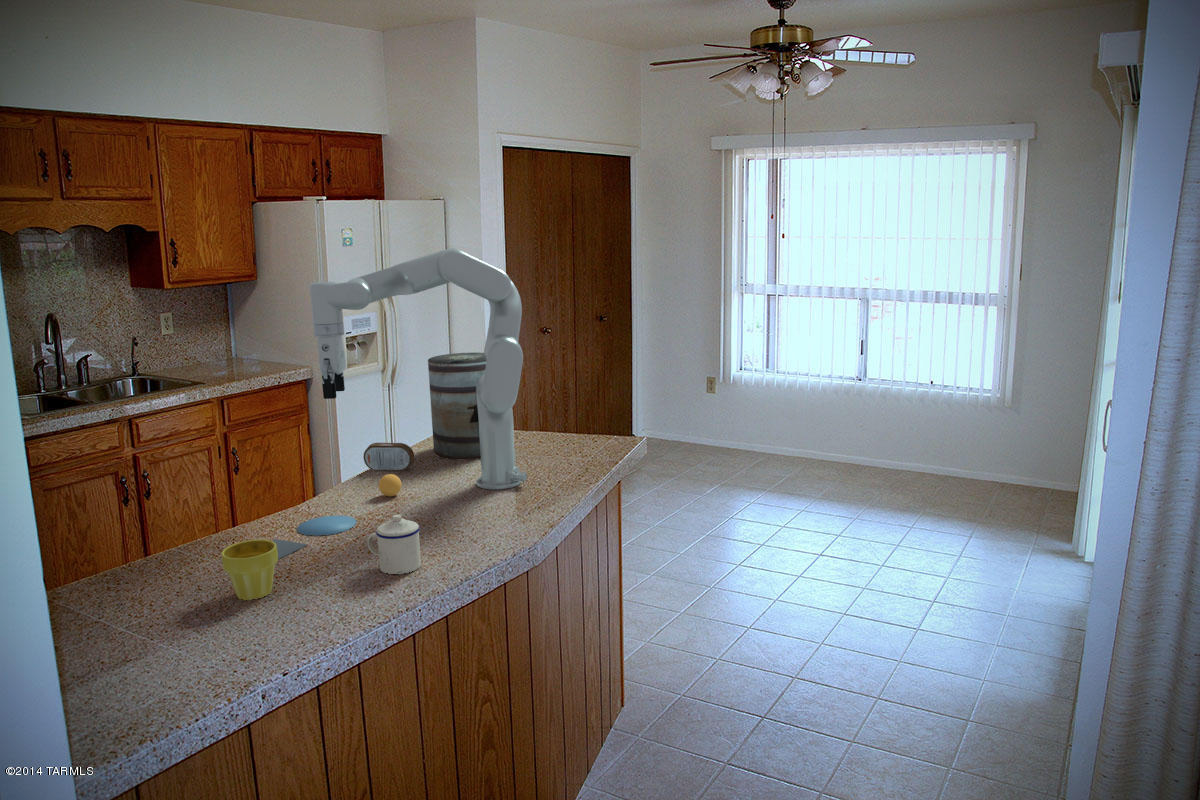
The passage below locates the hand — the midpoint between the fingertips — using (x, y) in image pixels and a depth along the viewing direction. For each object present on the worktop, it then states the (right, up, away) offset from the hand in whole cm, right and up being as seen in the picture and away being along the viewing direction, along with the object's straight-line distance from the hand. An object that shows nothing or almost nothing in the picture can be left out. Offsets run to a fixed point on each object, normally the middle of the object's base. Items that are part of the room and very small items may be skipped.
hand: (334, 394), depth 232 cm
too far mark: (-4, -36, -30) cm, 47 cm away
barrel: (+28, -18, +52) cm, 62 cm away
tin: (+7, -23, +32) cm, 40 cm away
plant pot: (0, -41, -54) cm, 67 cm away
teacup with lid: (+25, -38, -42) cm, 62 cm away
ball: (+13, -24, +7) cm, 28 cm away
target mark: (+3, -32, -15) cm, 36 cm away
